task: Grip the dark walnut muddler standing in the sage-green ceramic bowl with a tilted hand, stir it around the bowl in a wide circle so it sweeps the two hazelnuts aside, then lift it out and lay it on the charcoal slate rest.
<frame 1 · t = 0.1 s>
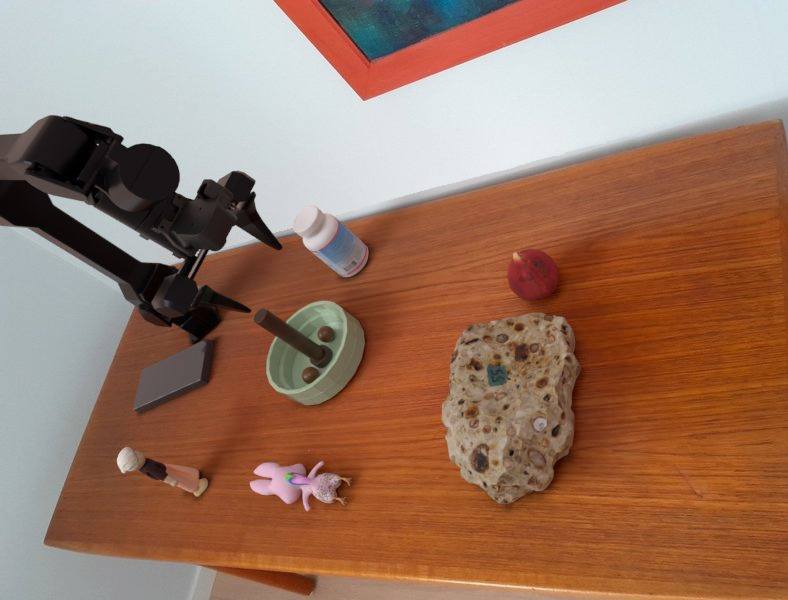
hand: (265, 279, 83), 15 cm above the table, tool pointing down, fingers open, 9 cm apart
grandmother figurine: (196, 484, 96), on the table
hazelnut b: (310, 375, 91), point 2 cm above the table, touching bowl
pill bottle: (355, 262, 101), on the table
rock: (529, 414, 72), on the table
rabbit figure: (308, 488, 84), on the table
bowl: (326, 360, 94), on the table
hazelnut a: (326, 334, 94), point 2 cm above the table, touching bowl
onion: (546, 292, 79), on the table
rest: (176, 378, 111), on the table
muddler: (324, 358, 93), point 1 cm above the table, touching bowl
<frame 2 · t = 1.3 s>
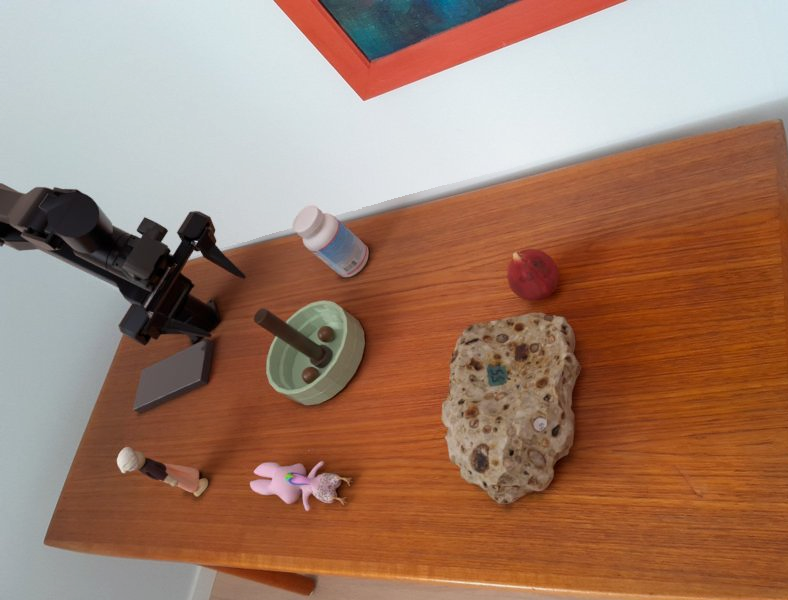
hand: (228, 306, 89), 13 cm above the table, tool tilted 45°, fingers open, 9 cm apart
nothing on the table moved.
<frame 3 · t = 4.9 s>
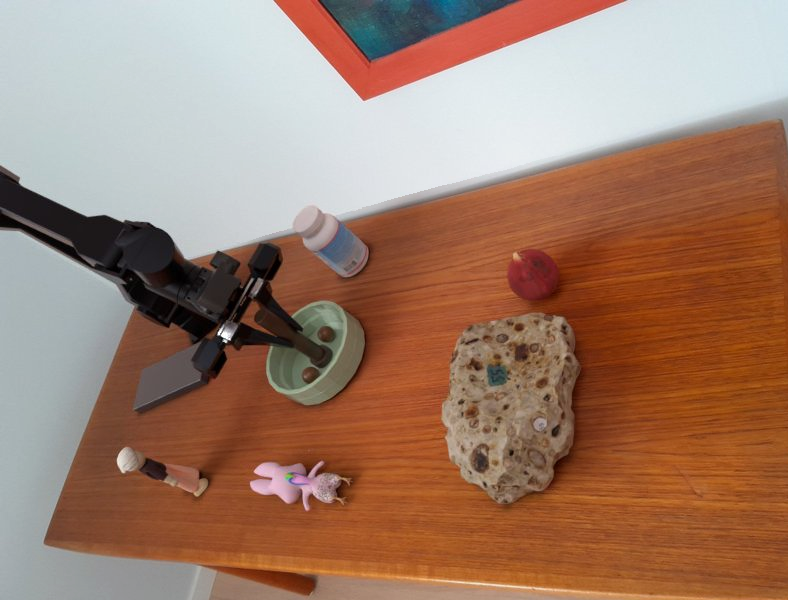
hand: (298, 338, 88), 7 cm above the table, tool tilted 45°, fingers closed on muddler, 2 cm apart
muddler: (324, 358, 93), point 1 cm above the table, touching bowl, gripper
everything else where it was.
when the fingers open (6 cm above the table, at t = 15.6 s): muddler moves 3 cm and tips over, resting on rest.
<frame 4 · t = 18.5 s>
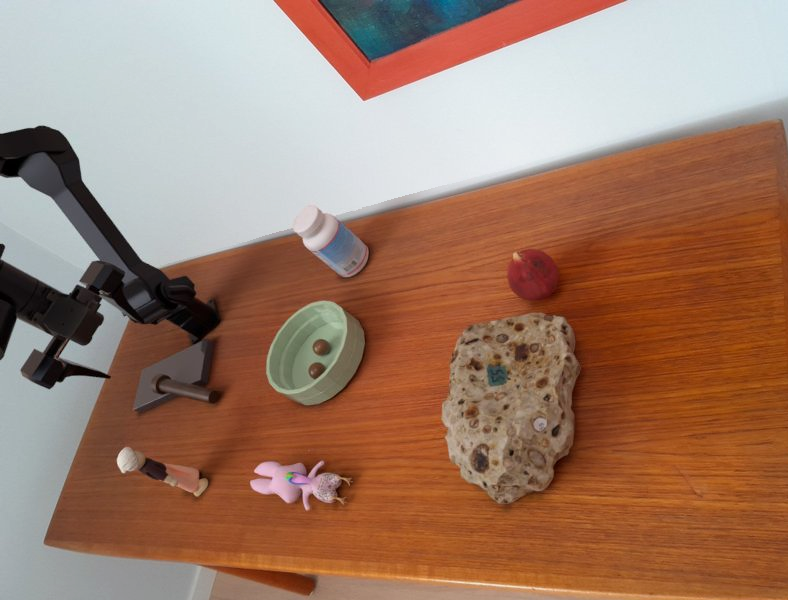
hand: (126, 349, 98), 13 cm above the table, tool pointing down, fingers open, 9 cm apart
hazelnut b: (317, 371, 91), point 2 cm above the table, tilted 32°, touching bowl
hazelnut a: (321, 347, 93), point 2 cm above the table, tilted 98°, touching bowl
muddler: (158, 383, 107), point 3 cm above the table, tilted 100°, touching rest
everything else where it was.
at the end: muddler inside the target area on the rest (2.7 cm from its centre), point 3.3 cm above the rest's base; hazelnut a moved 2.1 cm from its start; hazelnut a inside the target area in the bowl (1.1 cm from its centre), point 1.8 cm above the bowl's base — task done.
